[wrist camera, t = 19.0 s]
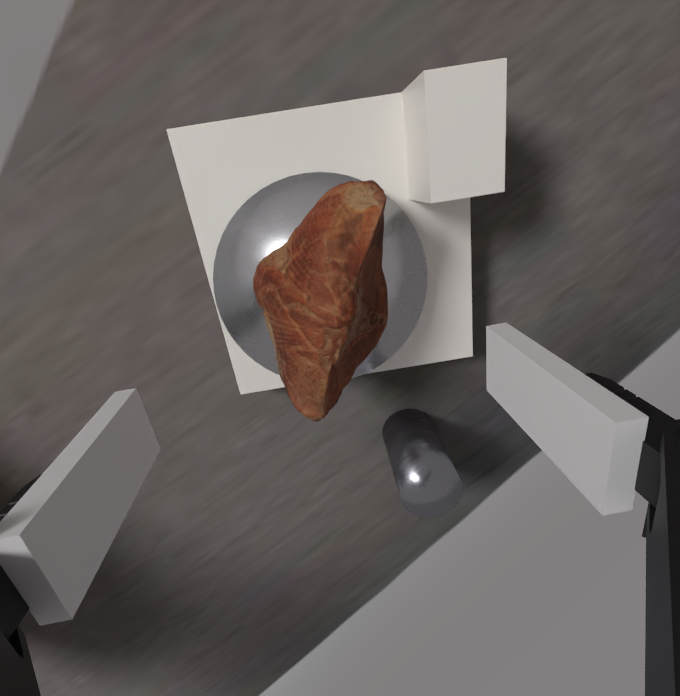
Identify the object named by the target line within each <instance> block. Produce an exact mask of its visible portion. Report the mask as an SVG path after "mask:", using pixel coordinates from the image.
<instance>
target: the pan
mask: <svg viewBox="0 0 680 696" xmlns="http://www.w3.org/2000/svg"><path fill="white" fill-rule="evenodd" d="M349 181H356V182H361V181H362V180H360V179H357V178H354V177H351V176H348V175H343V174H338V173H330V172H311V173H302V174H297V175H293V176H289V177H286V178H283V179H281V180H278V181H276V182H273V183H271V184H270V185H268V186H266V187H264V188H263V189H261V190H259V191H258V192H257V193H256V194H254V195H253V196H252V197H250V198H249V199H248V200H247V201H246V202H245V203H244V204H243V205H242V206H241V207H240V208H239V209H238V210H237V212H236V213H235V214H234V216H233V217H232V218H231V220H230V221H229V223H228V225H227V226H226V228H225V230H224V232H223V234H222V236H221V239H220V242H219V245H218V247H217V251H216V256H215V260H214V269H213V286H214V295H215V299H216V304H217V308H218V310H219V313H220V316H221V319H222V321H223V323H224V325H225V327H226V329H227V331H228V332H229V334H230V335H231V337H232V338H233V339H234V341H235V342H236V343H237V344H238V346H239V347H240V348H241V349H242V350H243V351H244V352H245V353H246V354H247V355H248V356H249V357H250V358H252V359H253V360H254V361H255V362H257V363H258V364H260V365H261V366H263V367H264V368H266V369H268V370H270V371H272V372H273V373H275V374H278V375H280V374H279V371H278V367H277V362H276V354H275V348H274V345H273V342H272V340H271V337H270V334H269V332H268V328H267V325H266V320H265V318H264V315H263V312H264V310H263V309H262V308H261V307H260V306H259V304H258V302H257V300H256V296H255V293H254V289H253V277H254V274H255V271H256V268H257V265H258V264H259V262H260V261H261V260H262V259H263V258H264V257H266V256H268V255H269V254H270V253H271V252H273V251H274V250H276V249H278V248H280V247H281V246H283V245H284V244H285V243H286V242H287V241H288V239H289V237H290V235H291V234H292V232H293V231H294V230H295V228H296V227H298V226H299V224H300V223H301V222H302V220H303V219H304V218H305V216H306V215H307V214H308V213H309V211H310V210H311V209H312V208H313V207H314V205H315V204H316V203H317V201H318V200H319V199H320V198H321V197H322V196H323V195H324V194H325V193H326V192H327V191H329V190H330V189H331V188H333V187H335V186H337V185H339V184H342V183H346V182H349ZM384 194H385V193H384ZM385 196H386V205H385V210H384V234H383V257H382V269H383V273H384V276H385V280H386V284H387V292H388V321H387V325H386V328H385V330H384V332H383V333H382V336H381V338H380V340H379V342H378V344H377V346H376V347H375V348H374V349H373V350H372V351H371V353H370V354H369V355H368V357H367V358H366V359H365V360H364V361H363V362H362V363H361V364H360V365H359V366H358V367H357V368H356V370H355V372H354V374H353V377H352V378H355V377H358V376H360V375H363V374H365V373H367V372H369V371H371V370H373V369H375V368H376V367H378V366H380V365H381V364H383V363H384V362H385V361H387V360H388V359H389V358H390V357H391V356H393V355H394V354H395V353H396V352H397V351H398V350H399V349H400V348H401V347H402V345H403V344H404V343H405V342H406V340H407V339H408V338H409V336H410V335H411V333H412V331H413V330H414V328H415V326H416V324H417V322H418V320H419V317H420V315H421V312H422V309H423V306H424V302H425V298H426V291H427V265H426V257H425V253H424V250H423V246H422V243H421V241H420V238H419V236H418V233H417V231H416V229H415V228H414V226H413V224H412V222H411V221H410V219H409V218H408V216H407V215H406V214H405V213H404V211H403V210H402V209H401V208H400V206H398V205H397V204H396V203H395V202H394V201H393V200H392V199H391V198H390V197H389V196H388V195H386V194H385ZM352 378H351V379H352Z"/></svg>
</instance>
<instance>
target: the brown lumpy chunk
mask: <svg viewBox="0 0 680 696" xmlns="http://www.w3.org/2000/svg"><path fill="white" fill-rule="evenodd" d="M385 205H386V196H385V194H384V190H383V189H382V188H381V187H380V186H379V185H378V184H377V183H376V182H375V181H373V180H368V181H361V182H356V181H349V182H346V183H342V184H339V185H337V186H335V187H333V188H331V189H330V190H329V191H327V192H326V193H325V194H324V195H323V196H322V197H321V198H320V199H319V200H318V201H317V203H316V204H315V205H314V207H313V208H312V209H311V210H310V211H309V213H308V214H307V215H306V216H305V218H304V219H303V220H302V222H301V223H300V224H299V226H298V227H296V228H295V230H294V231H293V232H292V234H291V235H290V237H289V239H288V241H287V242H286V243H285V244H284V245H283V246H281V247H280V248H278V249H276V250H274V251H273V252H271V253H270V254H269V255H268V256H266V257H264V258H263V259H262V260H261V261H260V262H259V264H258V265H257V268H256V271H255V274H254V277H253V289H254V293H255V296H256V300H257V302H258V304H259V306H260V307H261V308H262V309H263V310H264V312H263V315H264V318H265V320H266V325H267V328H268V332H269V334H270V337H271V340H272V342H273V345H274V348H275V354H276V362H277V367H278V371H279V374H280V377H281V380H282V382H283V384H284V386H285V389H286V392H287V394H288V396H289V398H290V399H291V401H292V403H293V405H294V406H295V408H296V409H297V410H298V411H299V412H301V413H302V414H303V415H304V416H305V417H306V418H308V419H310V420H312V421H319V420H321V419H323V418H324V417H325V416H326V415H327V414H328V412H329V410H330V409H332V408H333V407H334V405H335V404H336V403H337V401H338V399H339V397H340V395H341V393H342V390H343V388H344V387H345V386H346V385H347V384H348V383H349V381H350V380H351V378H352V377H353V374H354V372H355V370H356V368H357V367H358V366H359V365H360V364H361V363H362V362H363V361H364V360H365V359H366V358H367V357H368V355H369V354H370V353H371V351H372V350H373V349H374V348H375V347H376V346H377V344H378V342H379V340H380V338H381V336H382V333H383V332H384V330H385V328H386V325H387V321H388V292H387V284H386V280H385V276H384V273H383V269H382V257H383V234H384V210H385Z"/></svg>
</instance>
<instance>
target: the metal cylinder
mask: <svg viewBox="0 0 680 696" xmlns="http://www.w3.org/2000/svg"><path fill="white" fill-rule="evenodd" d="M382 433H383V439H384V442H385V446H386V449H387V452H388V456H389V459H390V463H391V466H392V470H393V473H394V477H395V480H396V484H397V487H398V491H399V494H400V498H401V501H402V504H403V506H404V508H405V509H406V510H407V511H408V512H410V513H411V514H413V515H415V516H418V517H425V518H430V517H437V516H440V515H443V514H445V513H447V512H449V511H450V510H452V509H453V508H454V507H455V506H456V505H457V504H458V503H459V501H460V499H461V497H462V495H463V484H462V481H461V479H460V477H459V475H458V473H457V471H456V469H455V467H454V465H453V463H452V461H451V459H450V457H449V456H448V454H447V452H446V450H445V448H444V446H443V444H442V442H441V440H440V438H439V436H438V434H437V432H436V430H435V428H434V426H433V424H432V422H431V420H430V418H429V417H428V416H427V415H426V414H425V413H424V412H422V411H420V410H416V409H404V410H400V411H398V412H396V413H394V414H393V415H391V416H390V417H389V418H388V419H387V421H386V422H385V424H384V426H383V432H382Z"/></svg>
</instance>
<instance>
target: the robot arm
mask: <svg viewBox="0 0 680 696" xmlns="http://www.w3.org/2000/svg"><path fill="white" fill-rule="evenodd" d="M486 372H487V391H488V392H489V393H490V394H491V395H492V396H493V397H494V399H495V400H496V401H497V402H498V403H499V404H500V405H501V406H502V407H503V408H504V409H505V410H506V412H507V413H508V414H509V415H510V416H511V417H512V418H513V419H514V420H515V421H516V422H517V423H518V425H519V426H520V427H521V428H522V429H523V430H524V431H525V432H526V433H527V434H528V435H529V436H530V438H531V439H532V440H533V441H534V442H535V443H536V444H537V445H538V446H539V447H540V448H541V449H542V451H543V452H544V453H545V454H546V455H547V456H548V457H549V458H550V459H551V460H552V461H553V462H554V464H556V466H557V467H558V468H559V469H560V470H561V471H562V472H563V473H564V474H565V475H566V477H567V478H568V479H569V480H570V481H571V482H572V483H573V484H574V485H575V486H576V487H577V488H578V489H579V491H580V492H581V493H582V494H583V495H584V496H585V497H586V498H587V499H588V500H589V501H590V502H591V504H593V506H594V507H595V508H596V509H597V510H598V511H599V512H600V513H601V514H602V515H603V516H604V515H609V514H615V513H619V512H625V511H630V510H632V509H633V503H634V498H635V492H636V491H637V492H638V493H639V494H640V495H642V496H643V497H644V498H645V499H646V500H647V501H648V502H649V504H648V509H647V514H646V519H645V524H644V529H643V534H642V536H643V537H646V650H645V651H646V652H645V654H646V655H645V658H646V659H645V662H646V663H645V696H680V419H679V420H675V419H673V418H672V417H670V416H669V415H667V414H665V413H664V412H662V411H661V410H659V409H657V408H656V407H654V406H652V405H651V404H649V403H648V402H646V401H644V400H643V399H641V398H640V397H636V395H635V394H633V393H632V392H630V391H628V390H624V388H623V387H622V386H620V385H619V384H617V383H615V382H614V381H612V380H611V379H608V378H605V377H602V376H599V375H596V374H593V373H588V374H583V373H582V372H580V371H579V370H577V369H576V368H574V367H573V366H571V365H570V364H568V363H566V362H565V361H563V360H562V359H560V358H559V357H557V356H556V355H554V354H553V353H551V352H550V351H548V350H547V349H545V348H544V347H542V346H541V345H539V344H538V343H536V342H535V341H533V340H532V339H530V338H529V337H527V336H526V335H524V334H522V333H521V332H519V331H518V330H516V329H515V328H513V327H512V326H510V325H509V324H507V323H501V324H495V325H490V326H486ZM159 451H160V447H159V445H158V442H157V440H156V437H155V435H154V432H153V430H152V427H151V424H150V422H149V419H148V417H147V414H146V412H145V409H144V407H143V404H142V402H141V399H140V397H139V394H138V392H137V389H136V388H134V389H128V390H123V391H117V392H114V394H113V395H112V396H111V397H110V398H109V399H108V400H107V402H106V403H105V404H104V405H103V406H102V407H101V408H100V409H99V411H98V412H97V413H96V414H95V415H94V416H93V417H92V419H91V420H90V421H89V422H88V423H87V424H86V425H85V426H84V428H83V429H82V430H81V431H80V432H79V433H78V434H77V435H76V437H75V438H74V439H73V440H72V441H71V442H70V443H69V445H68V446H67V447H66V448H65V449H64V450H63V451H62V452H61V454H60V455H59V456H58V457H57V458H56V459H55V460H54V462H53V463H52V464H51V465H50V466H49V467H48V468H47V469H46V471H45V472H44V473H43V474H42V475H39V476H38V477H36V478H35V479H34V480H32V481H31V482H30V483H28V484H27V485H26V486H24V487H23V488H22V489H21V490H20V491H19V492H18V493H17V494H16V495H15V496H14V497H13V498H12V500H11V501H10V502H9V505H7V506H5V507H4V508H3V509H2V511H1V512H0V696H41V695H40V691H39V687H38V684H37V680H36V676H35V672H34V668H33V665H32V661H31V657H30V653H29V649H28V645H27V642H26V638H25V635H24V634H23V632H22V631H21V629H20V628H19V627H18V625H19V623H20V622H21V620H22V619H23V617H24V616H25V614H26V612H27V611H28V609H29V611H30V612H31V614H32V615H33V617H34V618H35V620H36V621H37V623H38V624H39V625H40V626H42V625H47V624H52V623H57V622H62V621H67V620H72V619H73V617H74V615H75V613H76V611H77V609H78V608H79V606H80V604H81V602H82V600H83V598H84V596H85V594H86V592H87V590H88V588H89V586H90V584H91V582H92V581H93V579H94V577H95V575H96V573H97V571H98V569H99V567H100V565H101V563H102V561H103V559H104V557H105V555H106V554H107V552H108V550H109V548H110V546H111V544H112V542H113V540H114V538H115V536H116V534H117V532H118V530H119V528H120V527H121V525H122V523H123V521H124V519H125V517H126V515H127V513H128V511H129V509H130V507H131V505H132V503H133V502H134V500H135V498H136V496H137V494H138V492H139V490H140V488H141V486H142V484H143V482H144V480H145V478H146V476H147V475H148V473H149V471H150V469H151V467H152V465H153V463H154V461H155V459H156V457H157V455H158V453H159Z"/></svg>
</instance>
